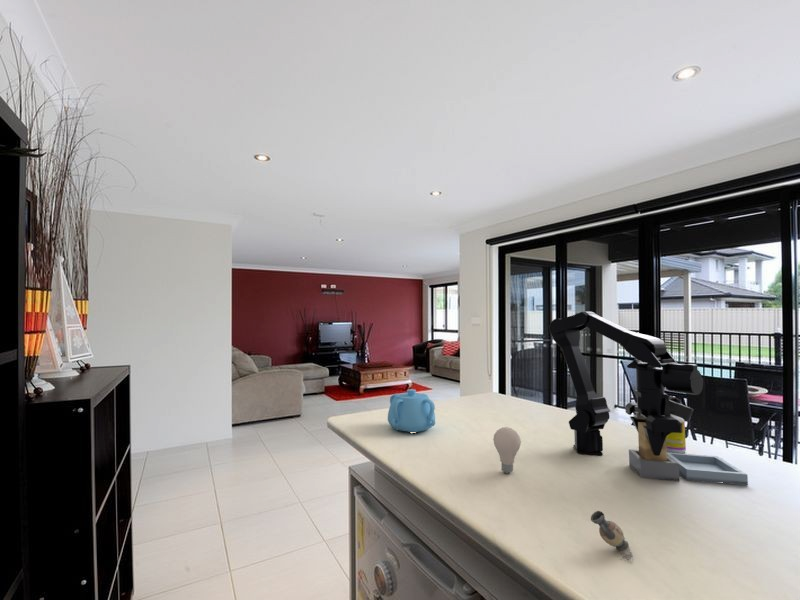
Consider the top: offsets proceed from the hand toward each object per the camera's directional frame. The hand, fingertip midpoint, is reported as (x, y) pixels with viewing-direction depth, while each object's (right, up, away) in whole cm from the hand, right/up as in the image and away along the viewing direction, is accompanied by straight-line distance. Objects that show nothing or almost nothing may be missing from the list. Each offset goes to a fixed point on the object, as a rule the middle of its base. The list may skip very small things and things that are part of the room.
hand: (652, 451), depth 93 cm
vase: (-28, -4, -32) cm, 43 cm away
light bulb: (-36, -5, -1) cm, 37 cm away
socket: (0, -5, 0) cm, 5 cm away
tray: (+12, -5, 0) cm, 13 cm away
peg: (0, -5, 0) cm, 4 cm away
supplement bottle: (+17, -6, +16) cm, 24 cm away
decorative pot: (-59, -7, +37) cm, 70 cm away
